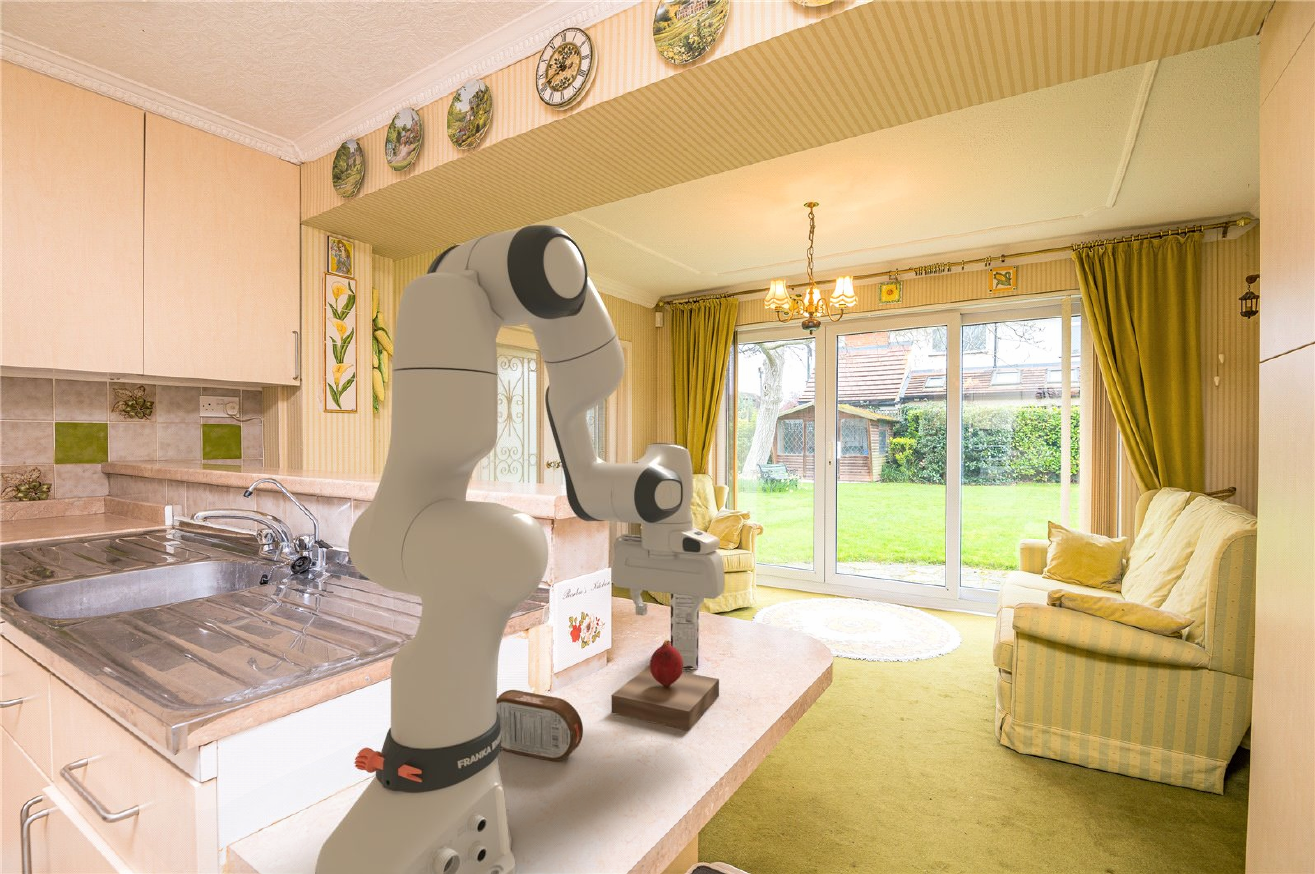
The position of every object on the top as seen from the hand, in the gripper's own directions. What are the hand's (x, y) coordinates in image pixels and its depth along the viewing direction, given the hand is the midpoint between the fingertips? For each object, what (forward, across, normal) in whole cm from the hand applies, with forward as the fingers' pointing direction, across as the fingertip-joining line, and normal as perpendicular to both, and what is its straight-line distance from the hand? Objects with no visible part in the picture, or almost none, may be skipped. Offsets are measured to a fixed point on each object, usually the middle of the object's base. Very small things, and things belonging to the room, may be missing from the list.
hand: (665, 618), depth 102 cm
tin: (+16, -11, -22) cm, 29 cm away
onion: (+12, 0, +1) cm, 12 cm away
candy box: (+15, -6, +23) cm, 28 cm away
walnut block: (+15, 0, +1) cm, 15 cm away
